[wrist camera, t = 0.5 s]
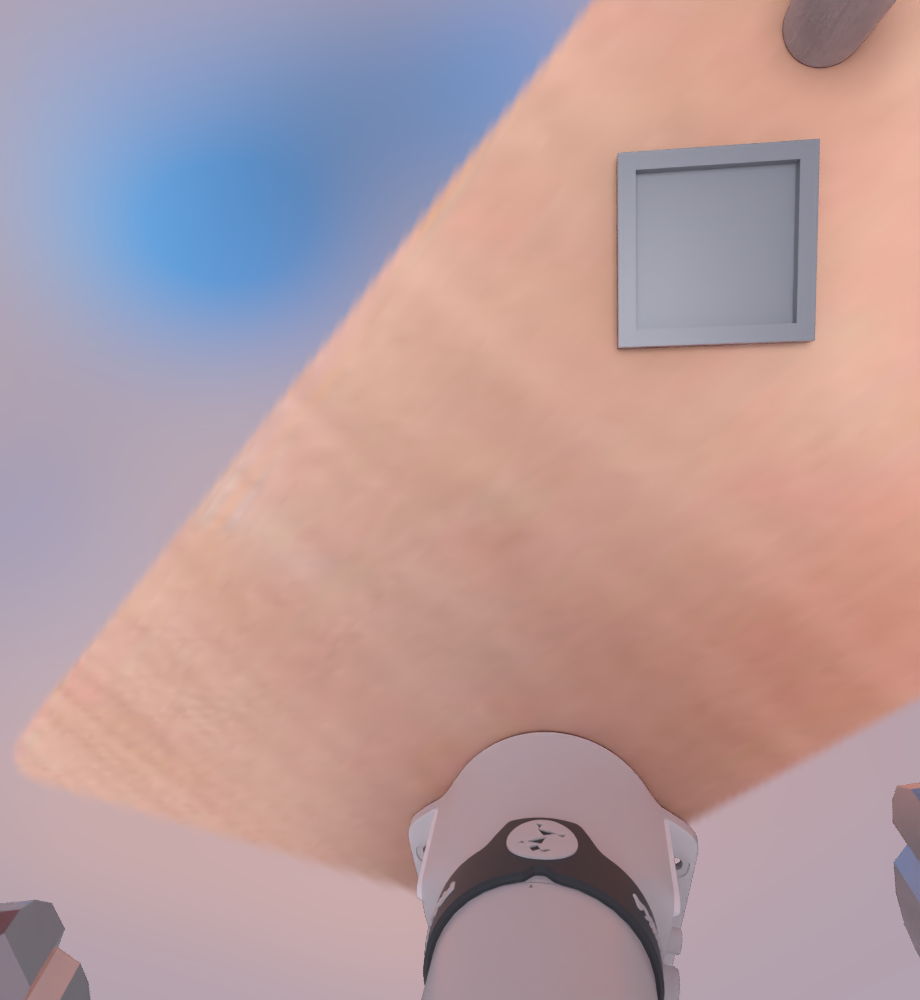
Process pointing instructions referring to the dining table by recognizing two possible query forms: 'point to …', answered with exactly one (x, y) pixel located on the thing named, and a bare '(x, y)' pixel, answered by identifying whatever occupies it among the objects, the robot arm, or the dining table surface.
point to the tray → (717, 245)
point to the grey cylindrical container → (830, 28)
